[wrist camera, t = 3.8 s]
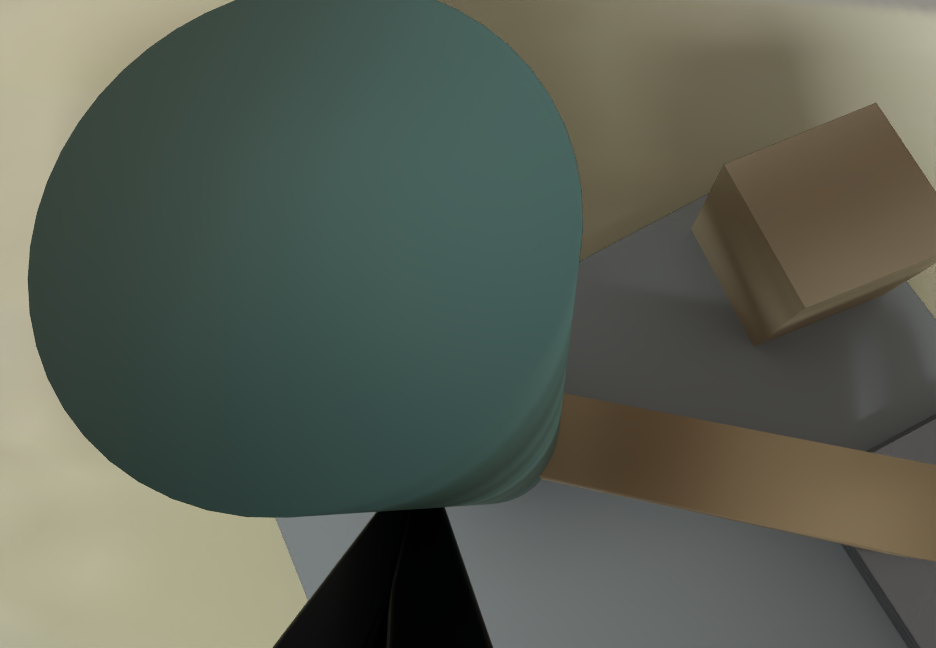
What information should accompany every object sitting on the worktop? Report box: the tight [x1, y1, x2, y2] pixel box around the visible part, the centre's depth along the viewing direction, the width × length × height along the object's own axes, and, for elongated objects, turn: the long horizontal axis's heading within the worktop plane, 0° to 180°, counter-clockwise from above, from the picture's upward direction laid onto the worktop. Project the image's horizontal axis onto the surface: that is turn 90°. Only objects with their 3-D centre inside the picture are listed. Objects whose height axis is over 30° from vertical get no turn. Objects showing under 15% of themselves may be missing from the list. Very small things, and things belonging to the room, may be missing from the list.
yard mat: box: [275, 193, 936, 648], centre depth 13 cm, size 14×14×1 cm
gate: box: [28, 0, 936, 562], centre depth 8 cm, size 9×3×11 cm, turn 78°
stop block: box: [691, 103, 936, 347], centre depth 13 cm, size 3×3×3 cm
